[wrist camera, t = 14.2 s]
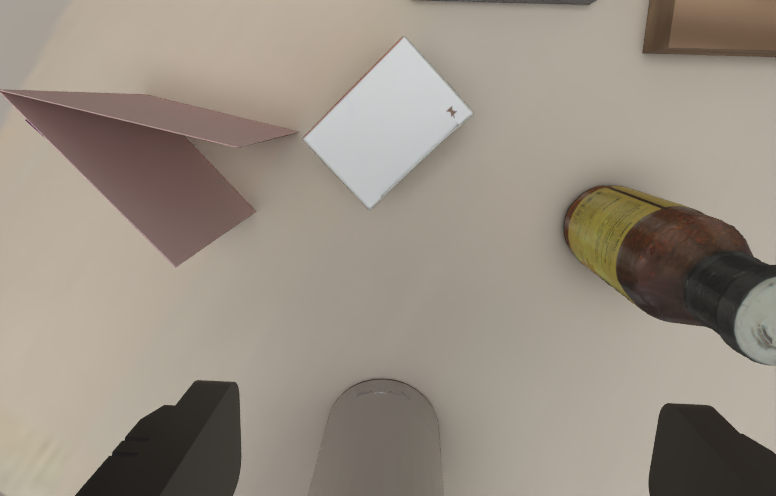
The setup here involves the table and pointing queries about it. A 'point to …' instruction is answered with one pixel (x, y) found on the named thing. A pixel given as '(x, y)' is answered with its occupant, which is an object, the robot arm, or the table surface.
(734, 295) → the sauce bottle
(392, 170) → the small box
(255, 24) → the table surface
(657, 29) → the walnut stand
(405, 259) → the table surface
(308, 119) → the table surface
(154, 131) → the greeting card
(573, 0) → the rubber mat
